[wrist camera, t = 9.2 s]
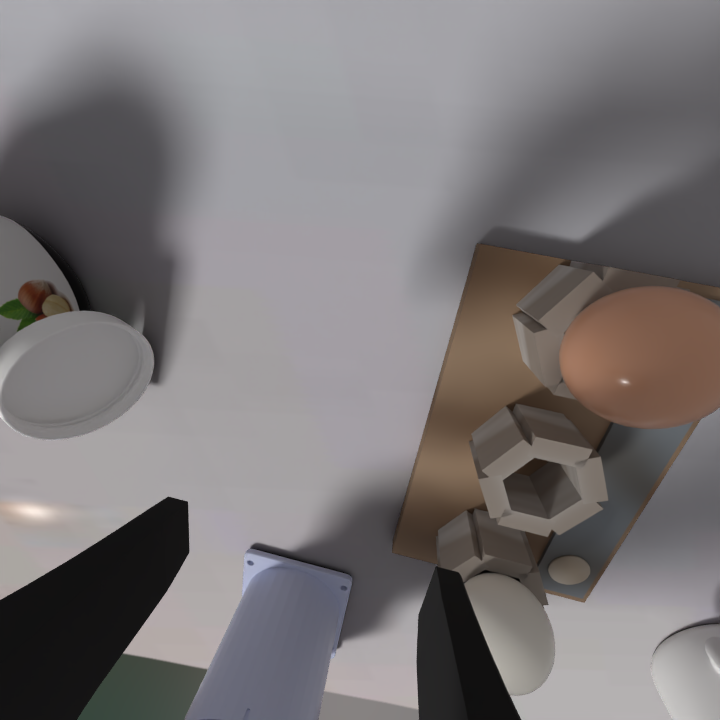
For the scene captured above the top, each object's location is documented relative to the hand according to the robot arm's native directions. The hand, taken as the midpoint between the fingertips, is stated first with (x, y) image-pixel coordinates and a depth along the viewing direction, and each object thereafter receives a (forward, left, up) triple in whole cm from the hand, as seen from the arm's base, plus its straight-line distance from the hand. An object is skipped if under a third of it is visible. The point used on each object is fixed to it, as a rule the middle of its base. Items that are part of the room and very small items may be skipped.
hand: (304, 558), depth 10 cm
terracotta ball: (+6, -9, -5) cm, 12 cm away
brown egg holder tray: (0, -10, -10) cm, 14 cm away
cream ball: (-8, -9, -5) cm, 13 cm away
